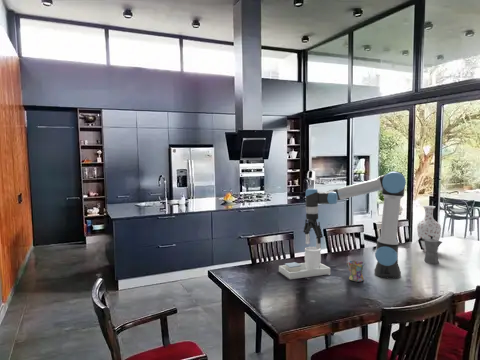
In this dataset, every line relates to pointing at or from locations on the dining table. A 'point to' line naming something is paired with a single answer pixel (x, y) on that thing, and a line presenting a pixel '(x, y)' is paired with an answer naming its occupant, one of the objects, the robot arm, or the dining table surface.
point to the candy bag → (356, 270)
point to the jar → (312, 258)
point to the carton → (292, 269)
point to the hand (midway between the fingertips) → (313, 246)
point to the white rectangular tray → (304, 271)
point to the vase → (428, 226)
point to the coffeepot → (430, 249)
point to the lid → (292, 265)
